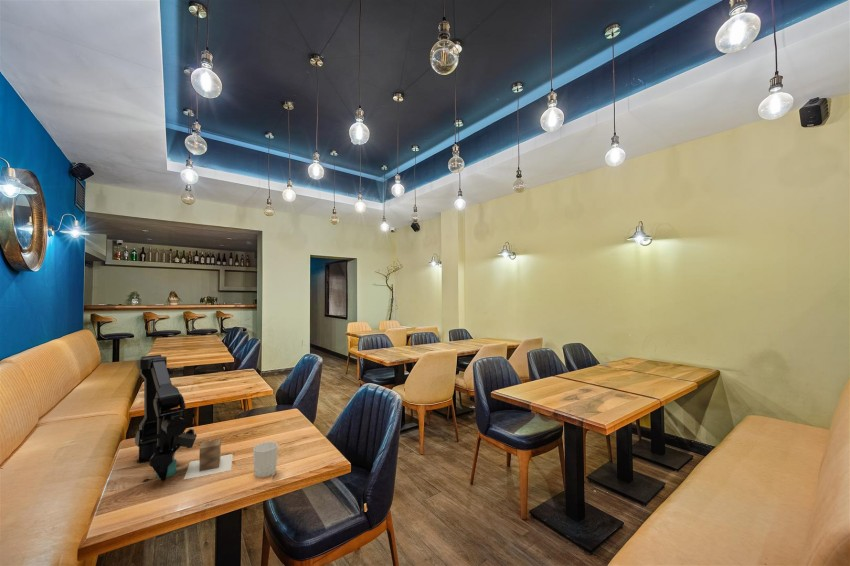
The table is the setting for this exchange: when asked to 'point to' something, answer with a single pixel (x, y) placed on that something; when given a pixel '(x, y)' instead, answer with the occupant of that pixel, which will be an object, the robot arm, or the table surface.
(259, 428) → the table surface
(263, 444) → the white cup
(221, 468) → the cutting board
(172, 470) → the teal cylinder
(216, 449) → the tower top
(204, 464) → the block
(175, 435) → the robot arm
